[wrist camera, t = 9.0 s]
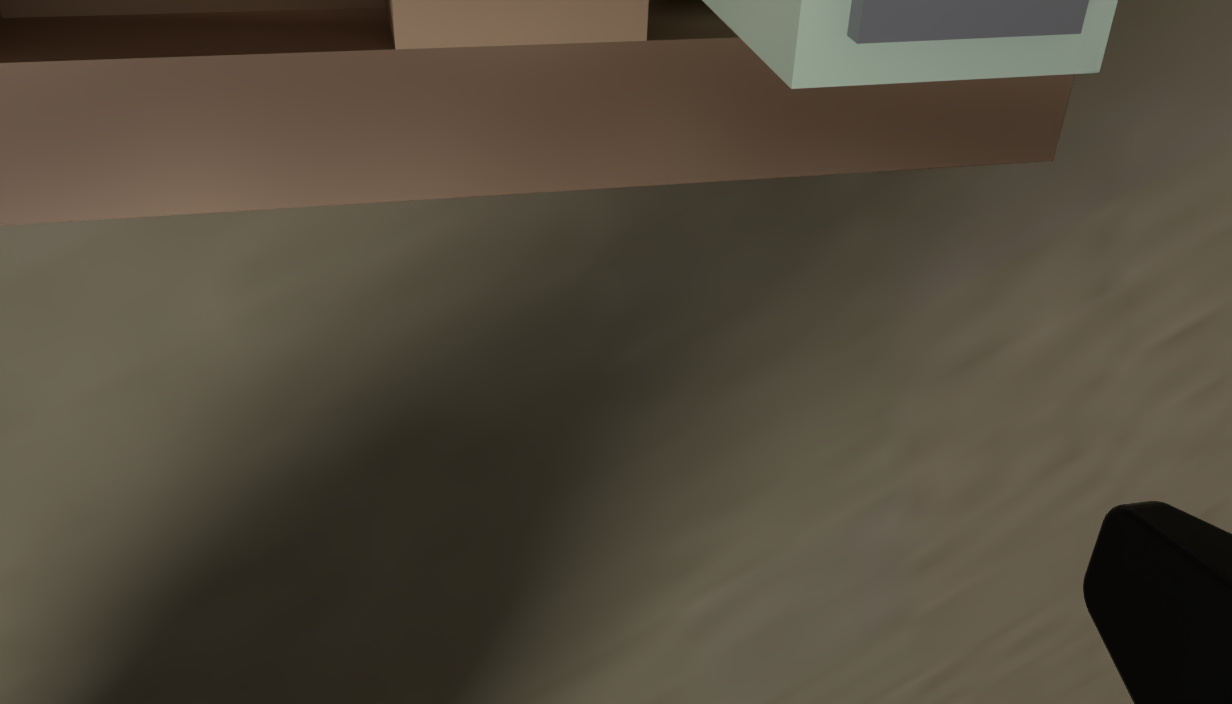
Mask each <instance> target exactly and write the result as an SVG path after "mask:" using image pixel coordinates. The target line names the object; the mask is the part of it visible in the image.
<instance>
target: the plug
mask: <svg viewBox="0 0 1232 704" xmlns="http://www.w3.org/2000/svg"><path fill="white" fill-rule="evenodd" d="M702 1H703V2H704V3H705V4H706V5H707V6H708V7H709V8H710V9H711V10H712V11H713V12H714V13H715V14H716V15H717V16H718V17H719V18H720V19H721V20H722V21H723V22H724V23H725V24H726V25H727V26H728V27H729V28H731V29H732V30H733V31H734V32H735V33H736V34H737V35H738V36H739V37H740V38H741V39H742V40H743V41H744V42H745V43H746V44H747V45H748V46H749V47H750V48H751V49H752V50H753V51H754V52H755V53H756V54H757V55H758V56H759V57H760V58H761V59H762V60H763V61H764V62H765V63H766V64H767V65H768V66H769V67H770V68H771V69H772V70H773V71H774V72H775V73H776V74H777V75H778V76H779V77H780V78H781V79H782V80H783V81H784V82H785V83H786V84H787V85H788V86H789V87H790V88H791V89H800V88H819V87H838V86H856V85H875V84H894V83H913V82H932V81H951V80H970V79H989V78H1008V77H1027V76H1046V75H1065V74H1084V73H1099V72H1100V68H1101V64H1102V60H1103V56H1104V52H1105V48H1106V45H1107V41H1108V37H1109V33H1110V29H1111V25H1112V21H1113V17H1114V14H1115V10H1116V6H1117V2H1118V0H702Z"/></svg>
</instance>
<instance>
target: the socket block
mask: <svg viewBox="0 0 1232 704" xmlns="http://www.w3.org/2000/svg"><path fill="white" fill-rule="evenodd" d="M1074 77H1075V74H1065V75H1046V76H1027V77H1008V78H989V79H970V80H951V81H932V82H913V83H894V84H875V85H856V86H838V87H819V88H800V89H791V88H790V87H789V86H788V85H787V84H786V83H785V82H784V81H783V80H782V79H781V78H780V77H779V76H778V75H777V74H776V73H775V72H774V71H773V70H772V69H771V68H770V67H769V66H768V65H767V64H766V63H765V62H764V61H763V60H762V59H761V58H760V57H759V56H758V55H757V54H756V53H755V52H754V51H753V50H752V49H751V48H750V47H749V46H748V45H747V44H746V43H745V42H744V41H743V40H742V39H741V38H740V37H739V36H738V35H737V34H736V33H735V32H734V31H733V30H732V29H731V28H729V27H728V26H727V25H726V24H725V23H724V22H723V21H722V20H721V19H720V18H719V17H718V16H717V15H716V14H715V13H714V12H713V11H712V10H711V9H710V8H709V7H708V6H707V5H706V4H705V3H704V2H703V1H702V0H0V226H3V225H20V224H36V223H52V222H68V221H85V220H101V219H117V218H134V217H150V216H166V215H182V214H199V213H215V212H231V211H247V210H264V209H280V208H296V207H312V206H329V205H345V204H361V203H378V202H394V201H410V200H426V199H443V198H459V197H475V196H491V195H508V194H524V193H540V192H556V191H573V190H589V189H605V188H621V187H638V186H654V185H670V184H687V183H703V182H719V181H735V180H752V179H768V178H784V177H800V176H817V175H833V174H849V173H865V172H882V171H898V170H914V169H930V168H947V167H963V166H979V165H996V164H1012V163H1028V162H1044V161H1053V159H1054V155H1055V151H1056V147H1057V143H1058V139H1059V135H1060V131H1061V128H1062V124H1063V120H1064V116H1065V112H1066V108H1067V104H1068V100H1069V96H1070V92H1071V88H1072V84H1073V80H1074Z"/></svg>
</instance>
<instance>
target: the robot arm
mask: <svg viewBox="0 0 1232 704" xmlns="http://www.w3.org/2000/svg"><path fill="white" fill-rule="evenodd" d="M1083 591H1084V599H1085V602H1086V606H1087V608H1088V611H1089V613H1090V615H1091V617H1092V619H1093V621H1094V623H1095V625H1096V627H1097V629H1098V631H1099V633H1100V635H1101V638H1102V640H1103V642H1104V644H1105V646H1106V648H1107V650H1108V652H1109V654H1110V656H1111V658H1112V660H1113V662H1114V664H1115V666H1116V668H1117V670H1118V672H1119V674H1120V676H1121V678H1122V680H1123V682H1124V684H1125V686H1126V688H1127V690H1128V692H1129V694H1130V696H1131V698H1132V700H1133V702H1134V704H1232V534H1231V533H1228V532H1226V531H1224V530H1222V529H1220V528H1218V527H1216V526H1214V525H1211V524H1209V523H1207V522H1205V521H1203V520H1201V519H1199V518H1196V517H1194V516H1192V515H1190V514H1188V513H1186V512H1184V511H1181V510H1179V509H1177V508H1175V507H1173V506H1171V505H1169V504H1166V503H1163V502H1158V501H1148V502H1140V503H1131V504H1123V505H1118V506H1116V507H1114V508H1112V509H1111V510H1110V511H1109V512H1108V513H1107V515H1106V516H1105V518H1104V520H1103V523H1102V526H1101V529H1100V532H1099V535H1098V538H1097V541H1096V544H1095V547H1094V550H1093V553H1092V556H1091V559H1090V562H1089V565H1088V568H1087V571H1086V573H1085V577H1084V584H1083Z"/></svg>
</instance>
